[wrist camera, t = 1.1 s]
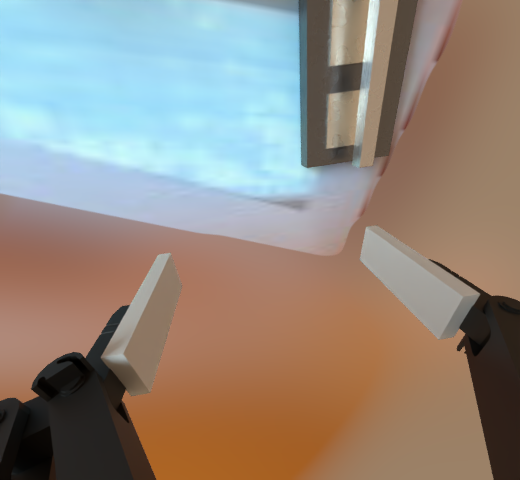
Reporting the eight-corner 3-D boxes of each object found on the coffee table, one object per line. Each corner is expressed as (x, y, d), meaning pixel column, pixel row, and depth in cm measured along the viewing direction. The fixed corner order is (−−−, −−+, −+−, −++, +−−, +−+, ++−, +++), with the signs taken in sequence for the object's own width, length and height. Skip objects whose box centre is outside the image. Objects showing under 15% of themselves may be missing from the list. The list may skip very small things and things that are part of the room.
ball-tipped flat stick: (375, -132, 18) (395, -169, 16) (408, -134, 18) (434, -171, 16) (347, 165, 31) (356, 168, 29) (367, 162, 31) (378, 165, 29)
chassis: (297, -68, 23) (315, -117, 18) (413, -77, 24) (459, -127, 19) (301, 164, 36) (312, 170, 31) (377, 153, 36) (399, 157, 32)
